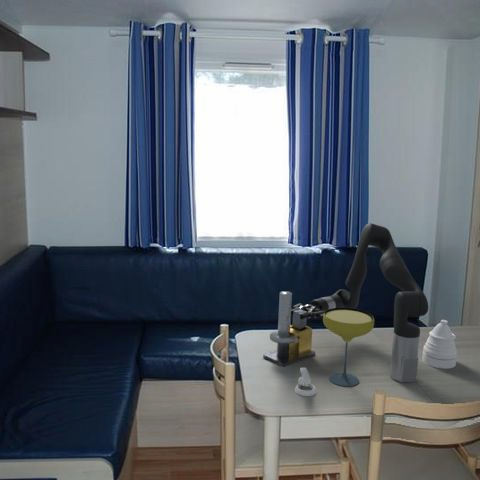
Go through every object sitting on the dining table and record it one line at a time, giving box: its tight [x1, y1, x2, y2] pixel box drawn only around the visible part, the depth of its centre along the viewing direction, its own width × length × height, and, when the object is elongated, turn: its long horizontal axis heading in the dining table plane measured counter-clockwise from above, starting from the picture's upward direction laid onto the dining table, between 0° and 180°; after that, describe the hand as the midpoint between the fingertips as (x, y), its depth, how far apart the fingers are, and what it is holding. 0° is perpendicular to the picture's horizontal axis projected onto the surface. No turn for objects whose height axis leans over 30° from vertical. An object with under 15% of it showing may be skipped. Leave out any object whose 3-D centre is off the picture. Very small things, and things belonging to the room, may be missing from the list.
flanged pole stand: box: [262, 291, 316, 368], centre depth 219 cm, size 19×11×27 cm, turn 132°
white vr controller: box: [294, 367, 317, 397], centre depth 190 cm, size 8×12×7 cm
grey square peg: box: [292, 309, 308, 331], centre depth 223 cm, size 4×4×16 cm
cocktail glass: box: [322, 307, 375, 388], centre depth 199 cm, size 18×18×25 cm
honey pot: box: [421, 319, 458, 369], centre depth 219 cm, size 13×13×18 cm
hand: (295, 314), depth 220 cm, fingers open, 5 cm apart
